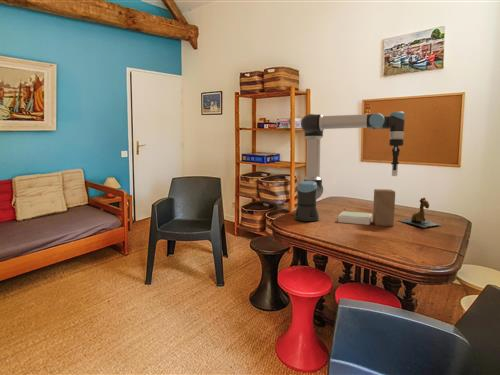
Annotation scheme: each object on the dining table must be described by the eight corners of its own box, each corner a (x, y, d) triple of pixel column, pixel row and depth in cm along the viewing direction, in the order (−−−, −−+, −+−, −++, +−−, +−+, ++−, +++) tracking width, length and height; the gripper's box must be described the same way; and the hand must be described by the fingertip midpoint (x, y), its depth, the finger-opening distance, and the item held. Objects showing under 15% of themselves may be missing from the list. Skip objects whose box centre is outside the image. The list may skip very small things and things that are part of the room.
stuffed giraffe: (422, 227, 191) (424, 199, 190) (397, 221, 208) (398, 195, 206) (441, 225, 198) (443, 198, 196) (415, 219, 214) (417, 194, 213)
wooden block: (393, 226, 193) (395, 191, 191) (375, 225, 195) (376, 190, 193) (390, 222, 203) (391, 189, 200) (372, 222, 205) (374, 189, 202)
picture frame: (337, 222, 203) (338, 215, 203) (342, 217, 220) (342, 210, 219) (369, 224, 196) (369, 218, 196) (372, 219, 212) (372, 213, 212)
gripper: (403, 137, 184) (401, 176, 186) (403, 139, 207) (401, 174, 209) (388, 138, 187) (386, 176, 189) (390, 139, 210) (388, 174, 212)
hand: (394, 175), depth 199 cm, fingers open, 13 cm apart
